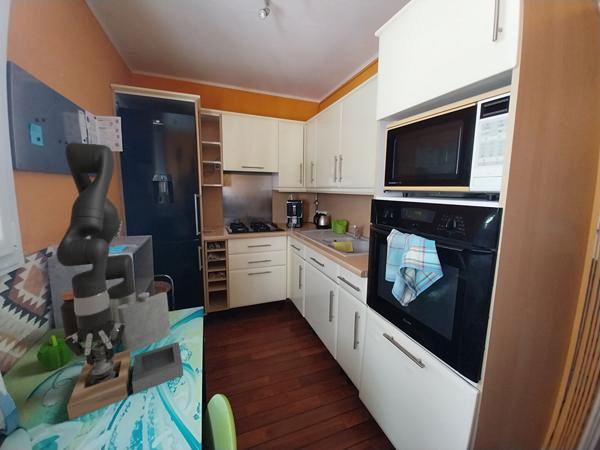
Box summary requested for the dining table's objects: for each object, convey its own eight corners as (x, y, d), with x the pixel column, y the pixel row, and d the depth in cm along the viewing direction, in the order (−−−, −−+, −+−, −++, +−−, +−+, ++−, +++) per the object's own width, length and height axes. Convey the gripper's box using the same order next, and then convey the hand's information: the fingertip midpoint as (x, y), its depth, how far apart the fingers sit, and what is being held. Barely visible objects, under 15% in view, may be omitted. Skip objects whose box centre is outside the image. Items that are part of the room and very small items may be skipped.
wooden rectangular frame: (86, 374, 75) (84, 363, 74) (131, 359, 81) (130, 349, 81) (69, 420, 60) (66, 406, 59) (127, 398, 66) (125, 385, 66)
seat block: (136, 366, 78) (134, 355, 78) (179, 351, 85) (178, 341, 85) (133, 394, 67) (132, 382, 67) (183, 375, 74) (182, 363, 74)
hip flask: (168, 330, 98) (164, 285, 95) (172, 334, 95) (168, 288, 92) (122, 350, 86) (115, 300, 83) (126, 355, 83) (118, 303, 80)
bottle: (71, 336, 95) (63, 290, 92) (92, 332, 97) (85, 287, 95) (62, 346, 89) (53, 297, 86) (85, 341, 91) (77, 293, 88)
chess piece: (86, 387, 67) (80, 350, 65) (98, 372, 72) (92, 337, 71) (111, 383, 68) (105, 346, 67) (120, 368, 74) (115, 333, 72)
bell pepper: (71, 367, 78) (66, 340, 77) (36, 378, 74) (30, 349, 72) (78, 352, 85) (74, 327, 84) (46, 361, 81) (41, 335, 79)
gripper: (125, 296, 74) (131, 345, 76) (63, 308, 66) (73, 362, 69) (122, 306, 67) (129, 359, 70) (54, 321, 60) (65, 380, 63)
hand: (101, 360), depth 70 cm, fingers closed on chess piece, 3 cm apart
